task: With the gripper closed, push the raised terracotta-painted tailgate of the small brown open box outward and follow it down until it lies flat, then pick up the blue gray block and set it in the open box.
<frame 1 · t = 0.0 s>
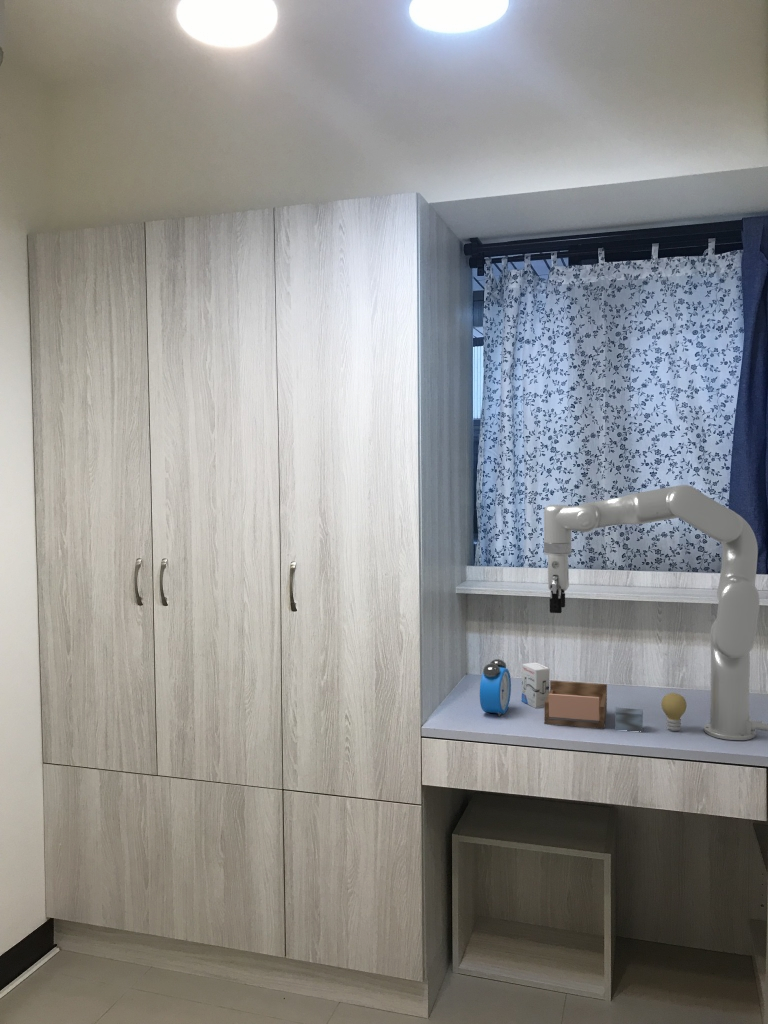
hand: (557, 609, 233), 31 cm above the table, tool pointing down, fingers open, 9 cm apart
light bulb: (673, 730, 224), on the table
brown open box: (575, 719, 234), on the table
blue gray block: (629, 729, 226), on the table
ink box: (535, 704, 250), on the table
alarm clock: (495, 713, 242), on the table
tailgate: (573, 708, 227), point 5 cm above the table, hinge at 5.0°
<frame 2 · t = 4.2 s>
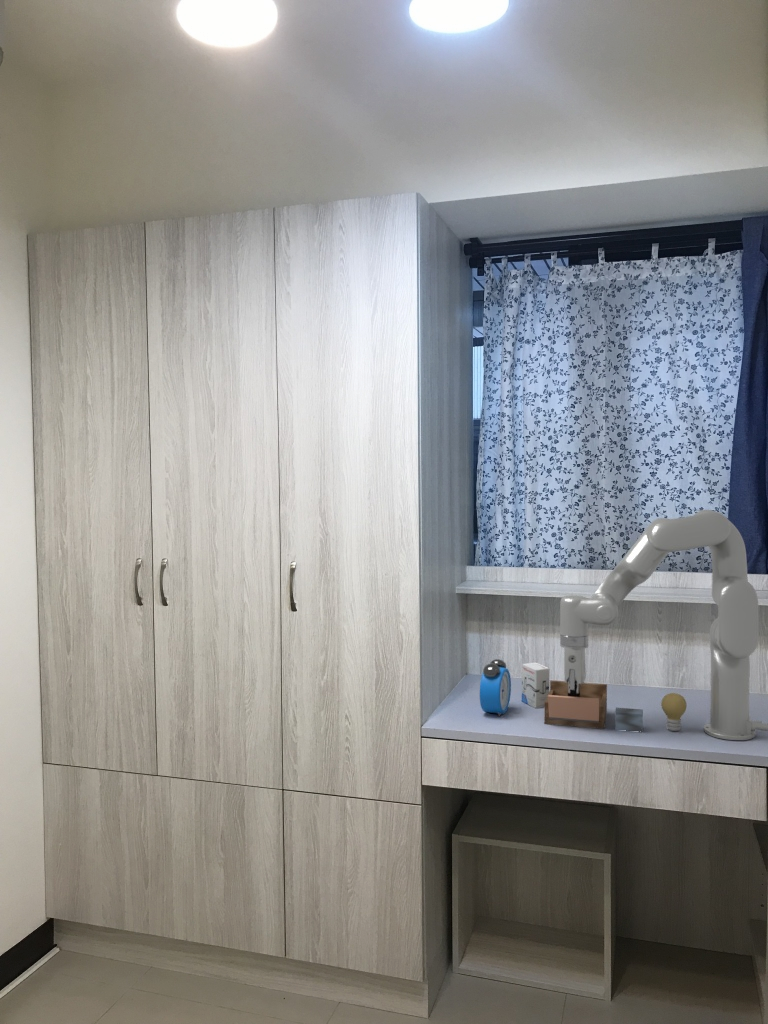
hand: (573, 706, 229), 5 cm above the table, tool pointing down, fingers closed
tailgate: (573, 709, 227), point 5 cm above the table, hinge at 14.1°, touching gripper
everything else where it was.
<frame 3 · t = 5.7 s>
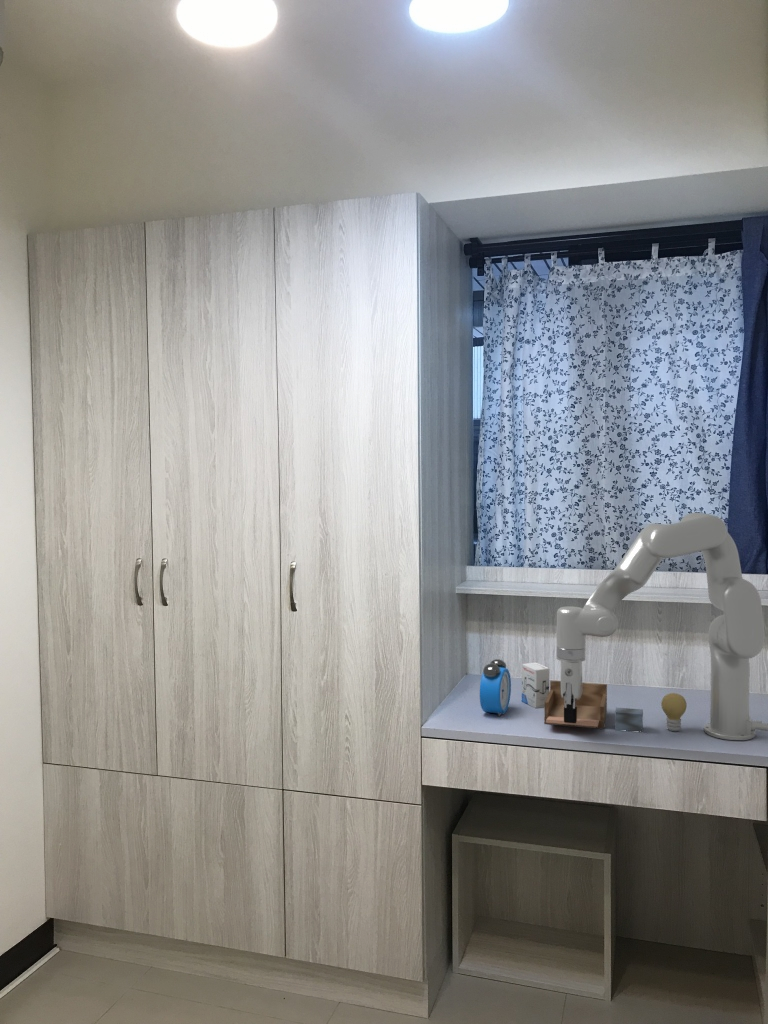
hand: (570, 721, 221), 3 cm above the table, tool pointing down, fingers closed
tailgate: (572, 721, 225), point 2 cm above the table, hinge at 81.3°, touching gripper
everything else where it was.
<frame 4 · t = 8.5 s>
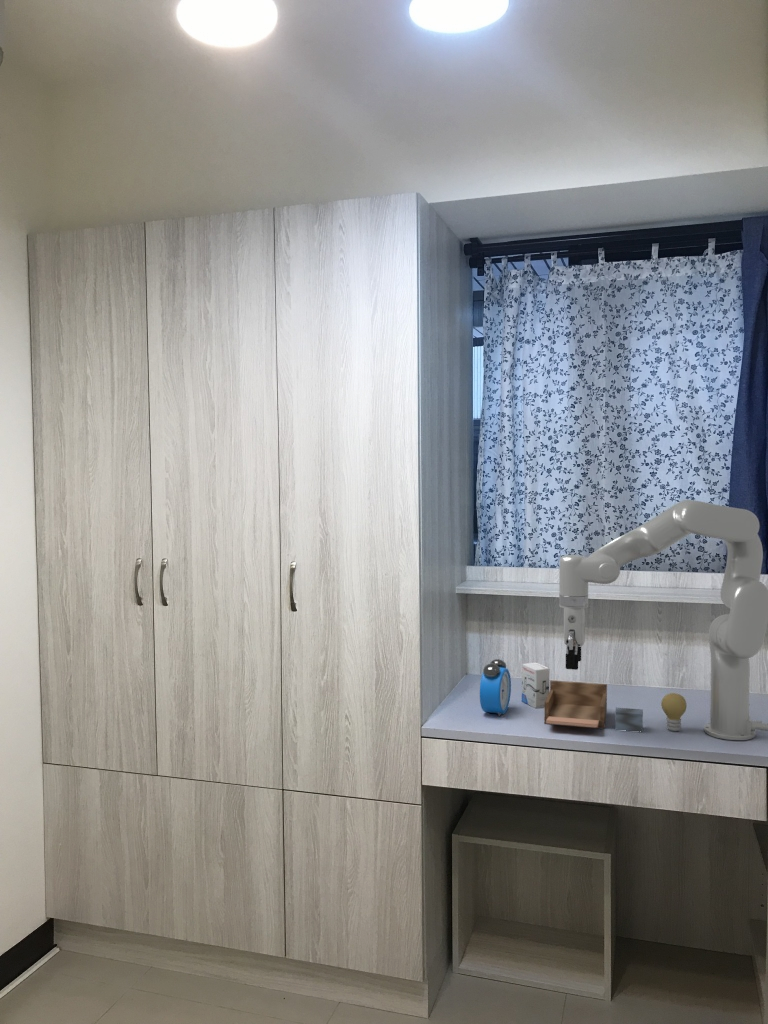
hand: (573, 664, 223), 18 cm above the table, tool pointing down, fingers open, 9 cm apart
tailgate: (572, 721, 225), point 2 cm above the table, hinge at 82.9°
everything else where it was.
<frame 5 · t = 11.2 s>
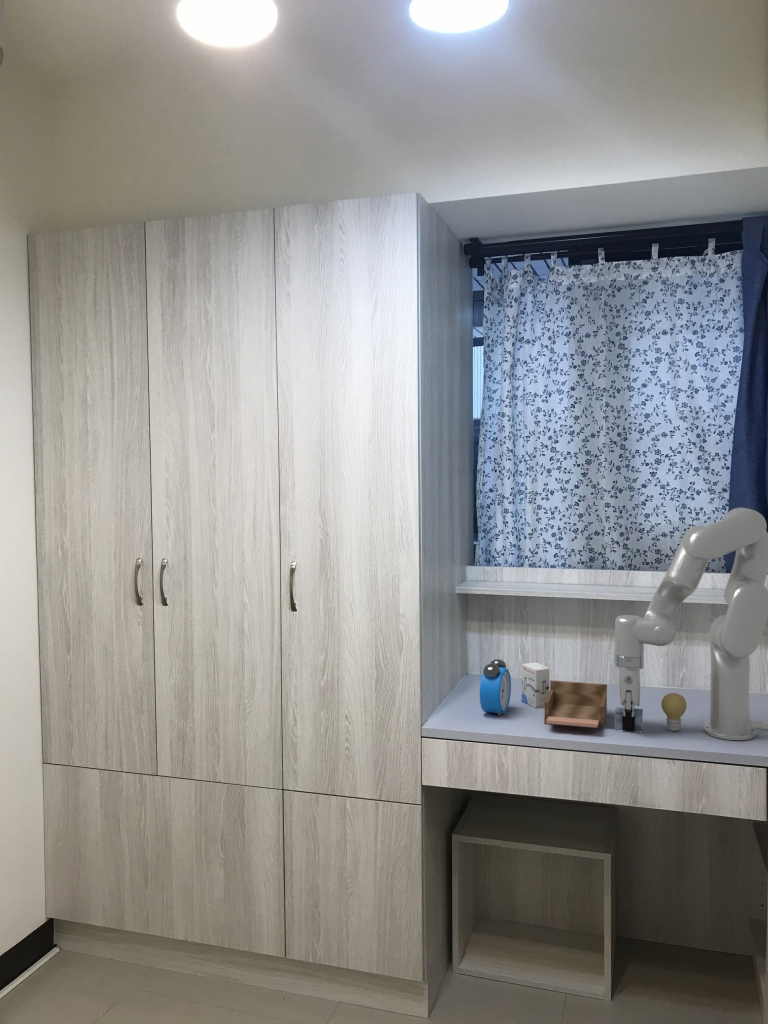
hand: (628, 727, 226), 0 cm above the table, tool pointing down, fingers closed on blue gray block, 4 cm apart
blue gray block: (628, 728, 226), on the table, touching gripper
everything else where it was.
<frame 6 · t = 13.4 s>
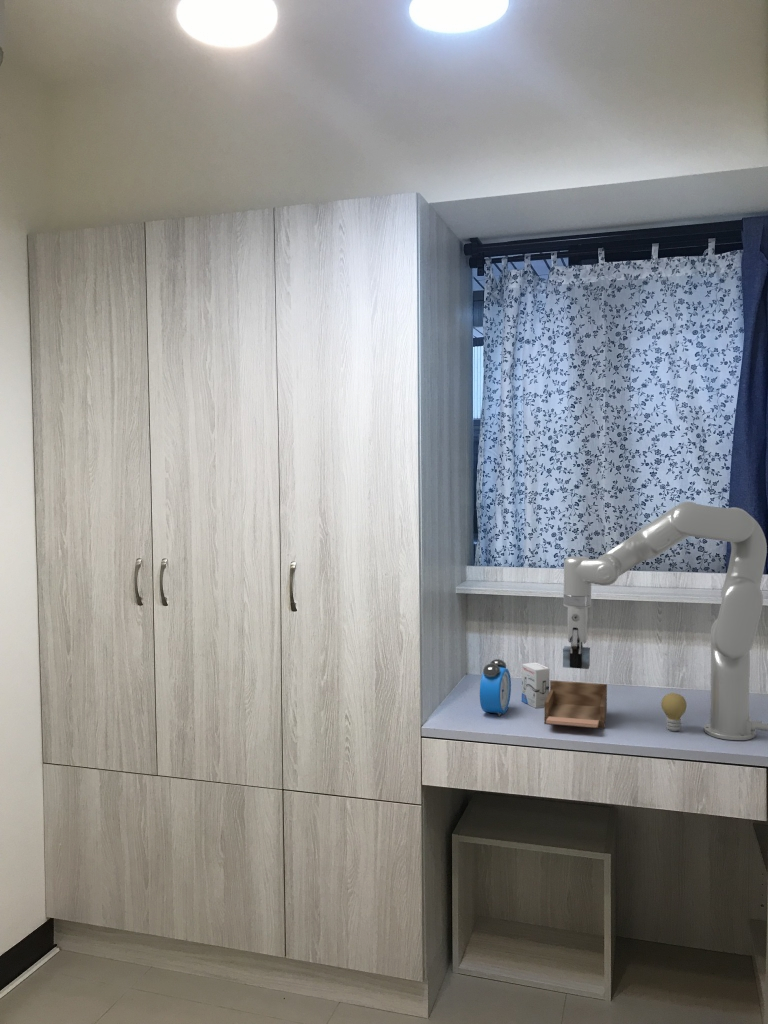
hand: (576, 664, 233), 16 cm above the table, tool pointing down, fingers closed on blue gray block, 4 cm apart
blue gray block: (576, 666, 233), point 15 cm above the table, touching gripper
everything else where it was.
when the fingers open (4 cm above the table, at t = 15.9 s): blue gray block drops 1 cm, resting on brown open box.
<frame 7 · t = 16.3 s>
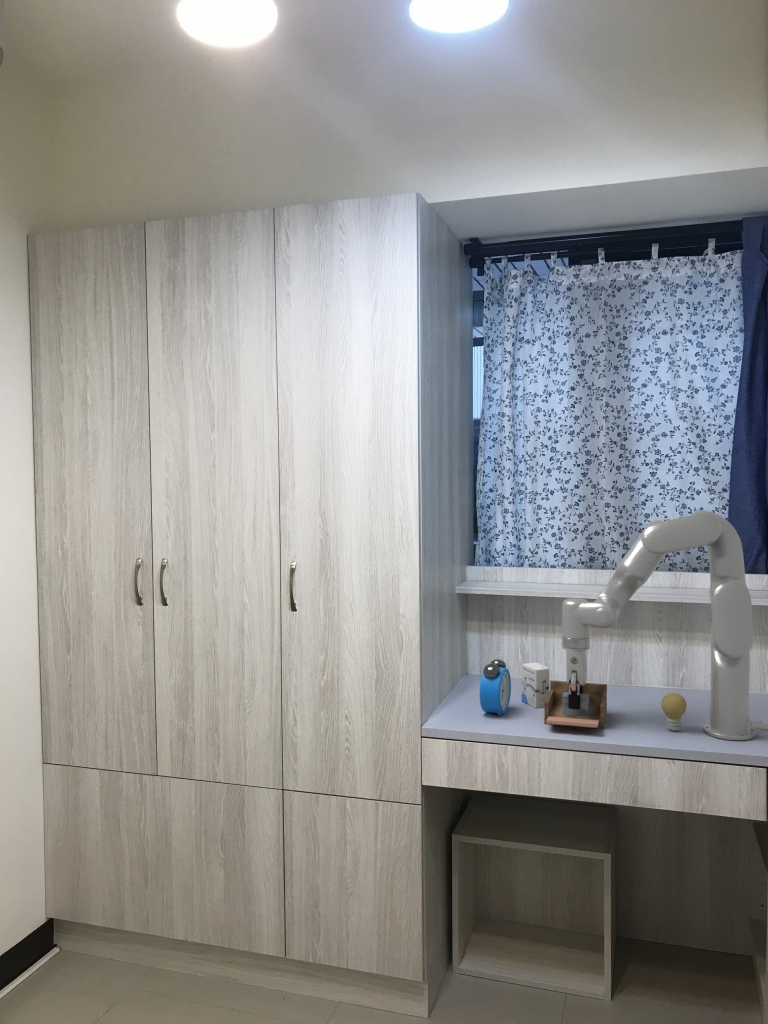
hand: (575, 704, 234), 5 cm above the table, tool pointing down, fingers open, 8 cm apart
blue gray block: (575, 713, 234), point 2 cm above the table, touching brown open box
everything else where it was.
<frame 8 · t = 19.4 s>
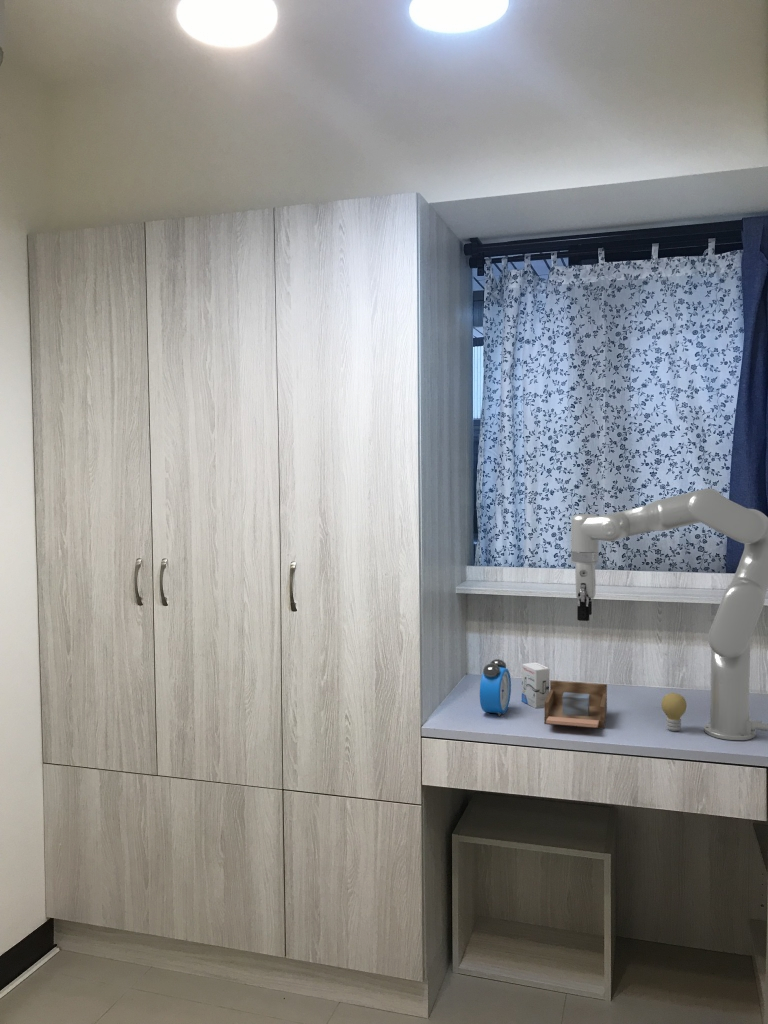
hand: (584, 617, 237), 28 cm above the table, tool pointing down, fingers open, 9 cm apart
nothing on the table moved.
at the end: tailgate at +83° (first picture: +5°); blue gray block inside the target area on the brown open box (1.3 cm from its centre), point 2.0 cm above the brown open box's base; blue gray block tilted 0° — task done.
